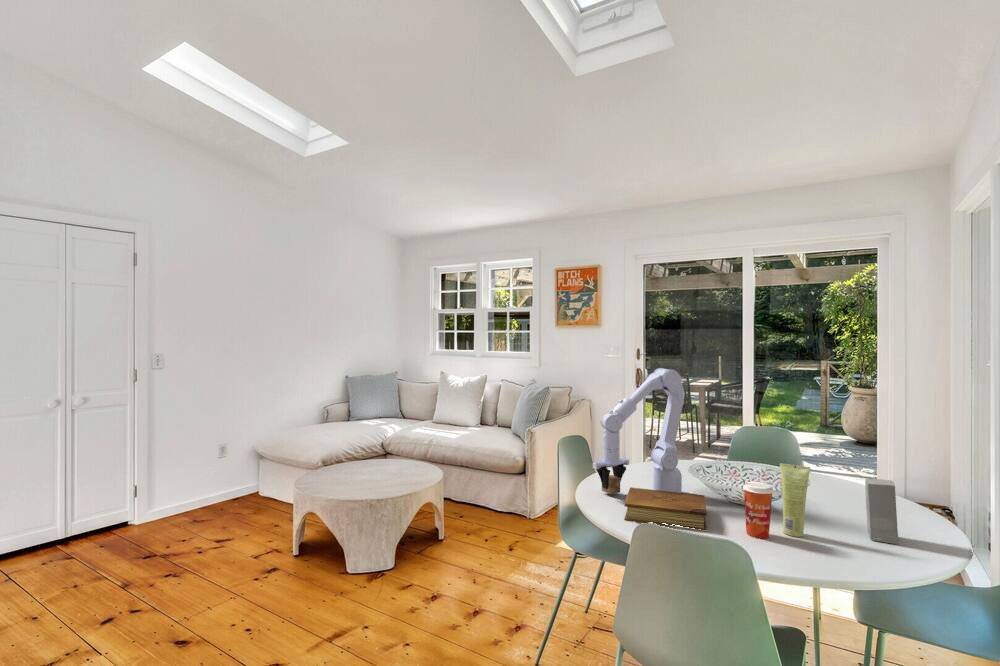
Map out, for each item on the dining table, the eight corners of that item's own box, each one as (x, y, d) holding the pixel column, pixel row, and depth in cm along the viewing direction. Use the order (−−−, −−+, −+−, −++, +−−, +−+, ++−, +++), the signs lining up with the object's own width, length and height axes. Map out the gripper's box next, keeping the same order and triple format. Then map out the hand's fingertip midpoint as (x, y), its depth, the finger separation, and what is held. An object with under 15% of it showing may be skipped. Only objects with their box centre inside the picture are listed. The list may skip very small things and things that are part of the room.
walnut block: (611, 489, 183) (612, 474, 183) (620, 492, 179) (620, 478, 179) (601, 490, 181) (601, 476, 181) (609, 494, 177) (610, 479, 177)
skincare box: (898, 545, 138) (899, 486, 139) (866, 540, 142) (866, 482, 142) (895, 535, 146) (895, 479, 146) (864, 530, 149) (864, 475, 149)
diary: (703, 512, 165) (704, 494, 165) (706, 533, 147) (707, 513, 147) (630, 503, 172) (630, 486, 172) (624, 521, 155) (624, 502, 155)
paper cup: (741, 536, 143) (742, 486, 143) (743, 527, 150) (743, 479, 150) (773, 542, 139) (774, 490, 140) (773, 533, 146) (774, 483, 146)
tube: (795, 530, 149) (796, 462, 149) (809, 536, 144) (810, 466, 144) (778, 531, 148) (779, 463, 148) (792, 538, 143) (793, 467, 143)
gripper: (620, 444, 187) (619, 481, 187) (587, 448, 181) (587, 486, 181) (633, 448, 181) (633, 487, 181) (599, 452, 174) (599, 492, 174)
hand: (610, 487), depth 180 cm, fingers closed on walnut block, 4 cm apart
